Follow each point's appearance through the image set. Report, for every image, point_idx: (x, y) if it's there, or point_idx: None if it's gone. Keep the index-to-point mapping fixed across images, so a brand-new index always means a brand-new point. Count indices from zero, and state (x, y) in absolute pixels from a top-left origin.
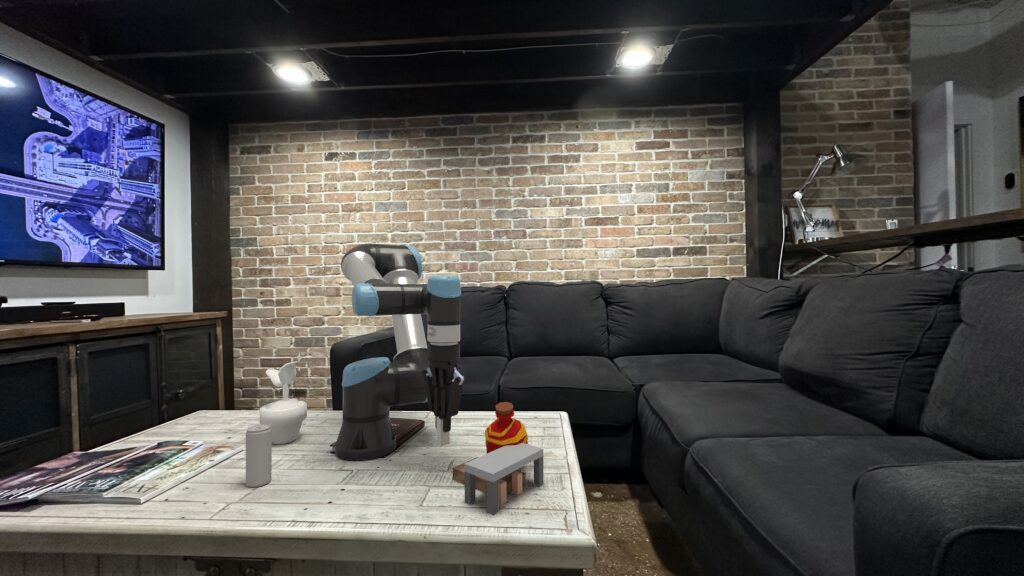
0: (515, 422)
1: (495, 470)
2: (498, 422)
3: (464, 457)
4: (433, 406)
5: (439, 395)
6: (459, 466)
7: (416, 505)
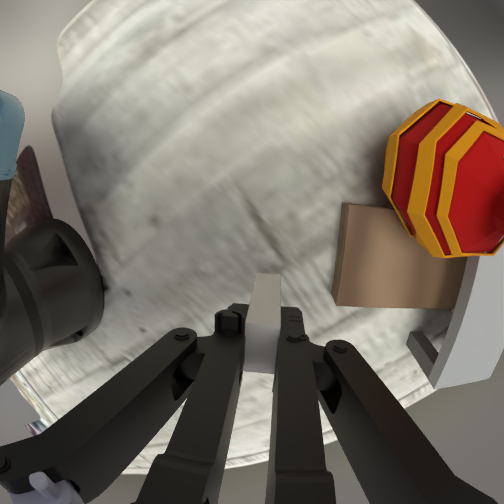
0: None
1: (491, 366)
2: (490, 225)
3: (260, 167)
4: (188, 377)
5: (228, 442)
6: (346, 289)
7: None
